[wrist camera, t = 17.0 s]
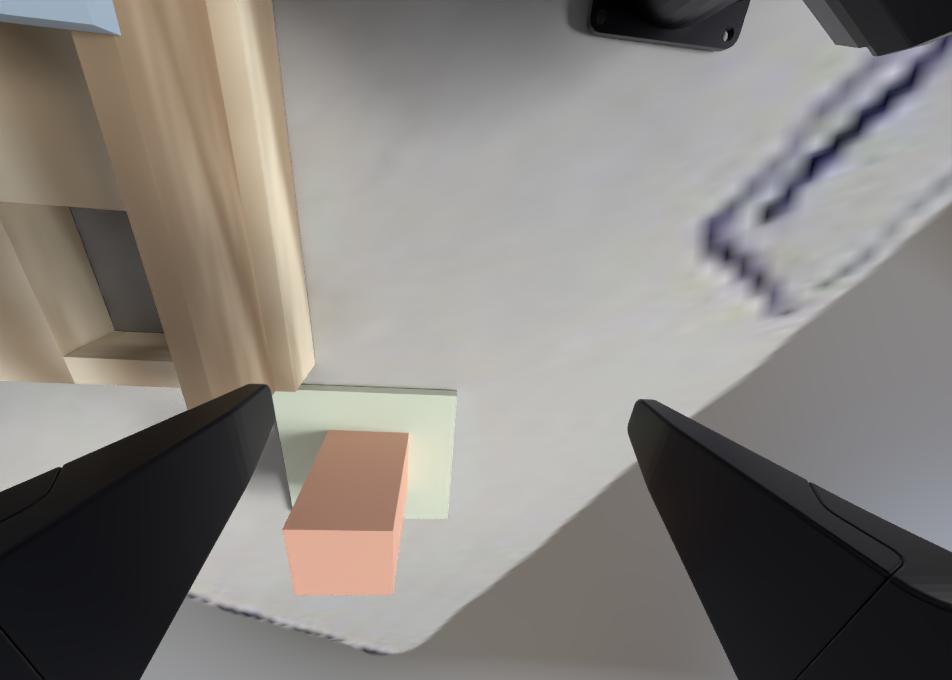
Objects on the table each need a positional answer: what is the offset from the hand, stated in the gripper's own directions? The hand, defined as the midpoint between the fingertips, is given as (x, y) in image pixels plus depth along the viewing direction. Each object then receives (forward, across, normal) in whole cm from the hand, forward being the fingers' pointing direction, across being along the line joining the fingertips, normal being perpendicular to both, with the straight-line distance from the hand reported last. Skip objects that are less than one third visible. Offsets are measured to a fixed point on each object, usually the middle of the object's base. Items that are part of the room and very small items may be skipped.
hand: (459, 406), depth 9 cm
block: (+11, +5, +13) cm, 18 cm away
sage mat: (+12, +5, +13) cm, 18 cm away
